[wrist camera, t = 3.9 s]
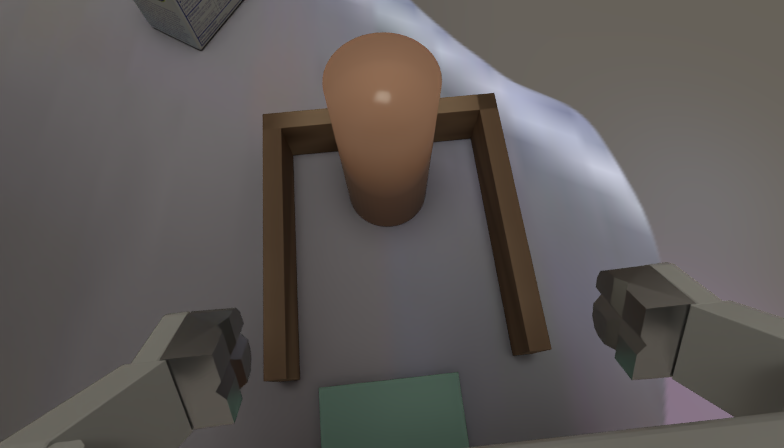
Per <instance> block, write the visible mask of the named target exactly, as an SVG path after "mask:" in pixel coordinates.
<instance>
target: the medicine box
mask: <svg viewBox="0 0 784 448" xmlns="http://www.w3.org/2000/svg"><path fill="white" fill-rule="evenodd" d="M241 1H242V0H134V2H135V3H136V5H137V6H138V8H139V9H140V11H141V12H142V13H143V15H144V16H145V18H146V19H147V21H148V22H149V24H150V25H151V26H152V27H154V28H156V29H158V30H160V31H162V32H164V33H166V34H168V35H170V36H172V37H174V38H176V39H178V40H180V41H183V42H185V43H187V44H189V45H191V46H193V47H195V48H197V49H199V50H201V49H202V48H203V47H204V46H205V45H206V43H207V42H208V41H209V40H210V39H211V37H212V36H213V35H214V34H215V32H216V31H217V30H218V29H219V28H220V27H221V25H222V24H223V23H224V22H225V21H226V19H227V18H228V17H229V16H230V15H231V13H232V12H233V11H234V10H235V9H236V7H237V6H238V5H239V4H240V2H241Z"/></svg>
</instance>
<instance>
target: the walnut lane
mask: <svg viewBox="0 0 784 448" xmlns="http://www.w3.org/2000/svg"><path fill="white" fill-rule="evenodd" d="M469 138H471V142H472V147H473V152H474V157H475V162H476V168H477V173H478V178H479V183H480V188H481V193H482V199H483V204H484V209H485V214H486V219H487V224H488V229H489V235H490V240H491V245H492V250H493V255H494V260H495V266H496V271H497V276H498V281H499V286H500V291H501V297H502V302H503V307H504V312H505V317H506V322H507V328H508V333H509V338H510V343H511V348H512V353H513V356H515V355H524V354H533V353H537V352H541V351H546V350H550V349H551V344H550V340H549V335H548V331H547V326H546V322H545V317H544V313H543V309H542V304H541V300H540V295H539V291H538V286H537V282H536V277H535V273H534V268H533V264H532V259H531V255H530V251H529V246H528V242H527V237H526V233H525V228H524V224H523V219H522V215H521V210H520V206H519V202H518V197H517V193H516V188H515V184H514V179H513V175H512V170H511V166H510V161H509V157H508V152H507V148H506V144H505V139H504V135H503V130H502V126H501V121H500V117H499V112H498V108H497V103H496V99H495V95H494V93H489V94H478V95H467V96H457V97H446V98H440V99H439V106H438V113H437V120H436V126H435V133H434V140H433V142H437V141H448V140H458V139H469ZM332 151H338V148H337V144H336V140H335V136H334V132H333V127H332V123H331V119H330V115H329V111H328V108H326V109H315V110H304V111H293V112H282V113H271V114H263V344H264V381H272V382H282V381H291V380H300V366H299V333H298V301H297V268H296V235H295V202H294V170H293V155H300V154H311V153H321V152H332Z"/></svg>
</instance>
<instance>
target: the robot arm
mask: <svg viewBox="0 0 784 448" xmlns="http://www.w3.org/2000/svg"><path fill="white" fill-rule="evenodd" d="M596 288H597V289H598V291H599V292H600V293H601V295H600V296H599V298H598V299H597V300H596V301H595V302H594V303H593V313H592V317H593V323H594V328H595V330H596V332H597V334H598V336H599V338H600V339H601V340H602V342H603V343H604V344H605V345H607V346H609V347H611V348H613V349H615V350H616V353H615V359H616V360H617V362H618V363H619V364H620V365H621V367H622V368H623V369H624V371H625V372H626V373H627V374H628V376H629V377H630V378H631V380H640V379H652V378H664V377H672V379H673V380H675V381H677V382H678V383H680V384H682V385H683V386H685V387H686V388H688V389H690V390H691V391H693V392H695V393H696V394H698V395H700V396H701V397H703V398H705V399H706V400H708V401H710V402H711V403H713V404H714V405H716V406H718V407H719V408H721V409H722V410H724V411H726V412H727V413H729V414H730V415H732V416H734V417H733V418H725V419H717V420H707V421H698V422H689V423H680V424H671V425H662V426H653V427H644V428H635V429H626V430H617V431H609V432H600V433H591V434H582V435H573V436H564V437H555V438H546V439H537V440H528V441H519V442H511V443H502V444H493V445H485V446H476V447H467V448H784V318H782V317H779V316H776V315H772V314H769V313H766V312H763V311H760V310H757V309H754V308H751V307H748V306H745V305H742V304H739V303H736V302H733V301H722V300H720V299H719V298H718V297H717V296H715V295H714V294H713V293H711V292H710V291H709V290H707V289H706V288H704V287H703V286H702V285H701V284H699V283H698V282H697V281H695V280H694V279H693V278H691V277H690V276H689V275H687V274H686V273H684V272H683V271H682V270H681V269H679V268H678V267H677V266H676V265H674V264H671V263H668V262H665V263H657V264H650V265H644V266H637V267H629V268H621V269H613V270H605V271H600V273H599V275H598V277H597V282H596ZM243 324H244V323H243V319H242V316H241V313H240V311H239V310H238V309H237V308H227V309H215V310H203V311H192V312H180V313H171V314H167V315H165V316H163V318H162V319H161V321H160V322H159V323H158V325H157V326H156V328H155V329H154V331H153V332H152V334H151V335H150V337H149V338H148V340H147V341H146V342H145V344H144V345H143V347H142V348H141V350H140V351H139V353H138V354H137V356H136V357H135V359H134V360H133V361H132V363H131V364H125V365H122V366H120V367H119V368H117V369H116V370H114V371H113V372H111V373H109V374H108V375H106V376H105V377H103V378H101V379H100V380H98V381H97V382H95V383H94V384H92V385H90V386H89V387H87V388H86V389H84V390H83V391H81V392H79V393H78V394H76V395H75V396H73V397H71V398H70V399H68V400H67V401H65V402H64V403H62V404H60V405H59V406H57V407H56V408H54V409H53V410H51V411H49V412H48V413H46V414H45V415H43V416H41V417H40V418H38V419H37V420H35V421H34V422H32V423H30V424H29V425H27V426H26V427H24V428H23V429H21V430H19V431H18V432H16V433H15V434H13V435H12V436H10V437H8V438H7V439H5V440H4V441H2V442H0V448H178V447H179V446H180V445H181V444H182V443H183V442H184V440H185V439H186V438H187V437H188V436H189V435H190V434H191V433H192V430H194V429H201V428H208V427H215V426H222V425H230V424H234V423H235V420H236V417H237V414H238V411H239V408H240V405H241V402H242V395H241V391H240V389H241V388H242V387H243V386H244V385H245V384H246V383H247V382H248V379H249V376H250V372H251V360H252V358H251V349H250V345H249V341H248V339H247V338H245V337H244V336H243V335H242V334H241V333H240V332H241V329H242V327H243Z"/></svg>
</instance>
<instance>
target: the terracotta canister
mask: <svg viewBox="0 0 784 448" xmlns="http://www.w3.org/2000/svg"><path fill="white" fill-rule="evenodd" d="M441 85H442V77H441V71H440V67H439V65H438V63H437V61H436V59H435V57H434V56H433V55H432V53H431V52H430V51H429V50H428V49H427V48H426V47H425V46H423V45H422V44H420V43H419V42H417V41H415V40H414V39H412V38H409V37H407V36H403V35H400V34H395V33H371V34H367V35H362V36H360V37H357V38H354V39H352V40H350V41H349V42H347V43H345V44H344V45H342V46H341V47H340V48H339V49H338V50H337V51H336V52H335V53H334V54H333V55H332V56H331V58H330V59H329V61H328V63H327V65H326V67H325V70H324V74H323V91H324V95H325V99H326V103H327V107H328V111H329V115H330V119H331V123H332V127H333V132H334V136H335V140H336V144H337V148H338V152H339V156H340V160H341V164H342V168H343V172H344V176H345V180H346V184H347V188H348V192H349V196H350V200H351V203H352V206H353V208H354V209H355V211H356V212H357V213H358V214H359V216H361V217H362V218H363V219H364V220H366V221H368V222H370V223H372V224H375V225H378V226H386V227H387V226H396V225H400V224H403V223H405V222H407V221H409V220H410V219H412V218H413V217H414V216H415V215H416V214H417V213H418V212H419V210H420V209H421V207H422V205H423V203H424V199H425V194H426V187H427V181H428V174H429V167H430V160H431V153H432V147H433V140H434V133H435V126H436V120H437V113H438V106H439V99H440V92H441Z"/></svg>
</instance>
